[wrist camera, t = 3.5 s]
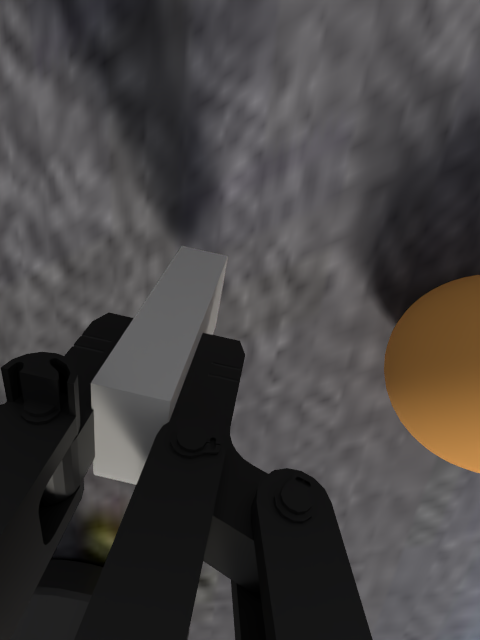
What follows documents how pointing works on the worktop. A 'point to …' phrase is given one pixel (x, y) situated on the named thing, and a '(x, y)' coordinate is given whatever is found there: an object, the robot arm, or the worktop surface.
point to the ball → (439, 371)
